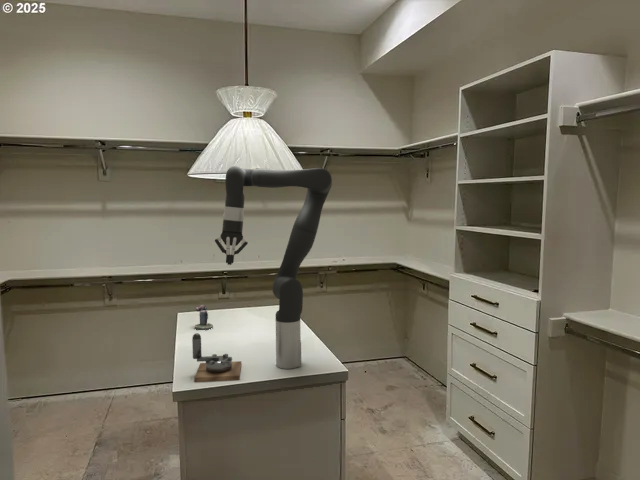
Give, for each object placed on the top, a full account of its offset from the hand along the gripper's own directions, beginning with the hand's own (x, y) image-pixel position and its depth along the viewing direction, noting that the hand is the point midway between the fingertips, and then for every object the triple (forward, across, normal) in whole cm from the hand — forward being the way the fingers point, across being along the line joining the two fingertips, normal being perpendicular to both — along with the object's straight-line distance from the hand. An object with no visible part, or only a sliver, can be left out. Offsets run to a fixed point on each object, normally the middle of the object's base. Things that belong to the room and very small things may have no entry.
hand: (229, 264), depth 172 cm
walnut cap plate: (+38, 0, +14) cm, 40 cm away
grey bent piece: (+36, +2, +14) cm, 38 cm away
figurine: (+38, +11, -47) cm, 61 cm away
